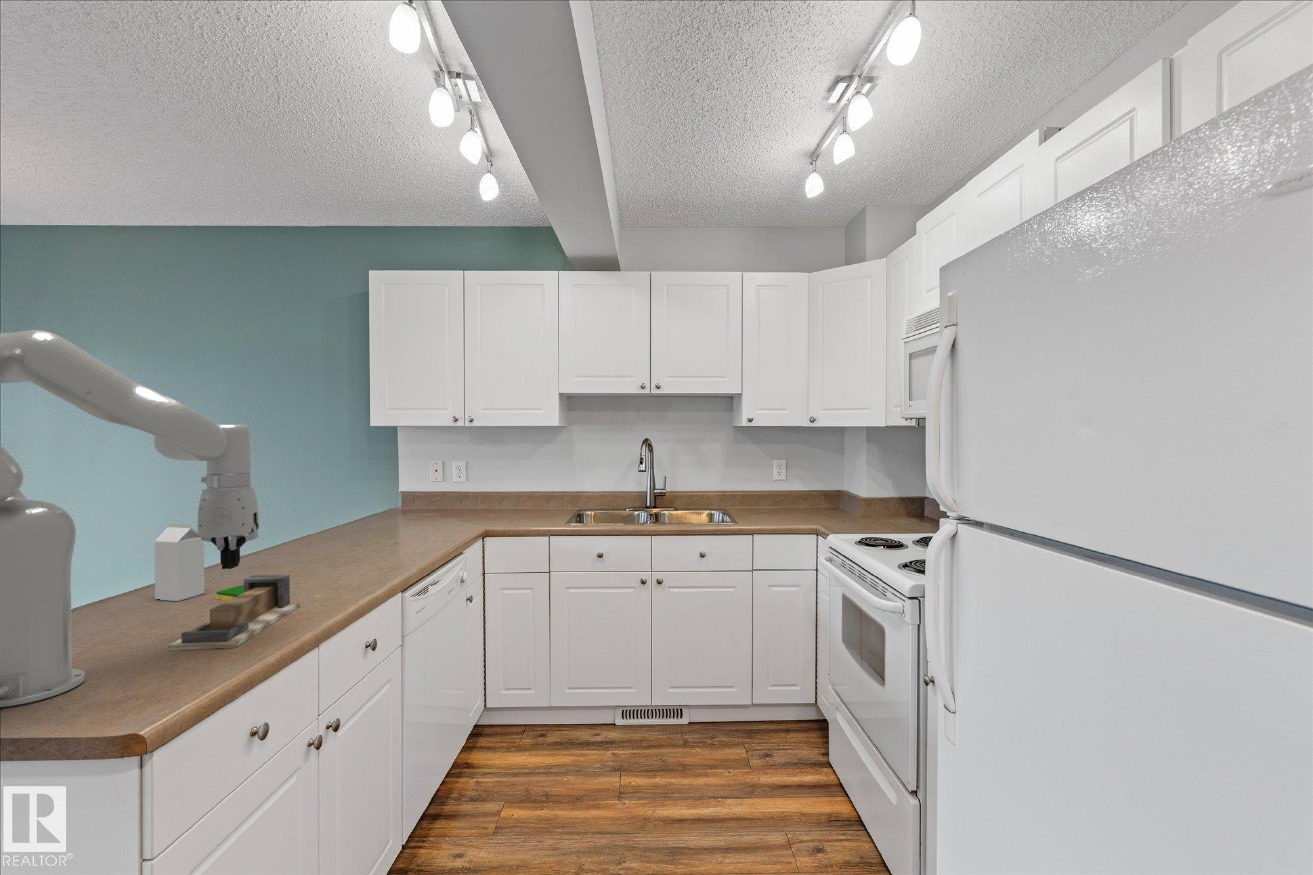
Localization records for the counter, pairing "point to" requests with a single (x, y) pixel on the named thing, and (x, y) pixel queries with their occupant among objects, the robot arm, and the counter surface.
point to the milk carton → (179, 563)
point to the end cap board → (245, 630)
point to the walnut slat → (243, 608)
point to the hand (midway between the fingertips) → (230, 567)
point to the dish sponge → (230, 593)
